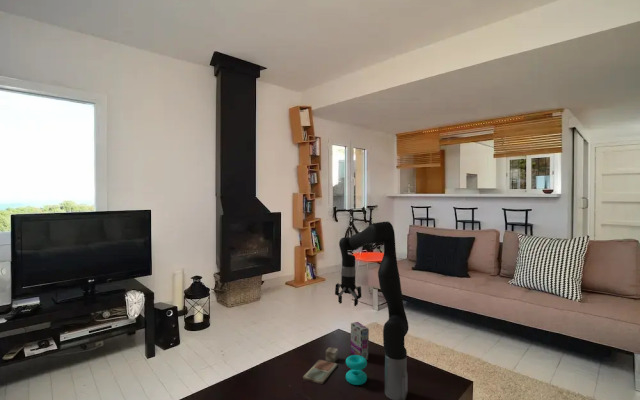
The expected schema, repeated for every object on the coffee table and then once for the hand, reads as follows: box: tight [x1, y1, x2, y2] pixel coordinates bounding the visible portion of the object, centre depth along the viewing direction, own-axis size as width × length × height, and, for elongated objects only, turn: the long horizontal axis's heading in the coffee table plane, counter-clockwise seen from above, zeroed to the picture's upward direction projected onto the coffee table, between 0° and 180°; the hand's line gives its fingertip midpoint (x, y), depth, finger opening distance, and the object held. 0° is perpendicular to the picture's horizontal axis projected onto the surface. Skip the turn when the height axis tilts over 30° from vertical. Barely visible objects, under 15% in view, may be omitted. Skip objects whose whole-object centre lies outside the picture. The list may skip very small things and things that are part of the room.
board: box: [302, 359, 338, 385], centre depth 156 cm, size 10×18×1 cm, turn 155°
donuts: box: [345, 354, 368, 386], centre depth 149 cm, size 10×10×10 cm
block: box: [325, 346, 339, 363], centre depth 169 cm, size 5×5×5 cm
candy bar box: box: [350, 321, 370, 360], centre depth 173 cm, size 11×5×16 cm, turn 25°
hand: (347, 304), depth 171 cm, fingers open, 8 cm apart
